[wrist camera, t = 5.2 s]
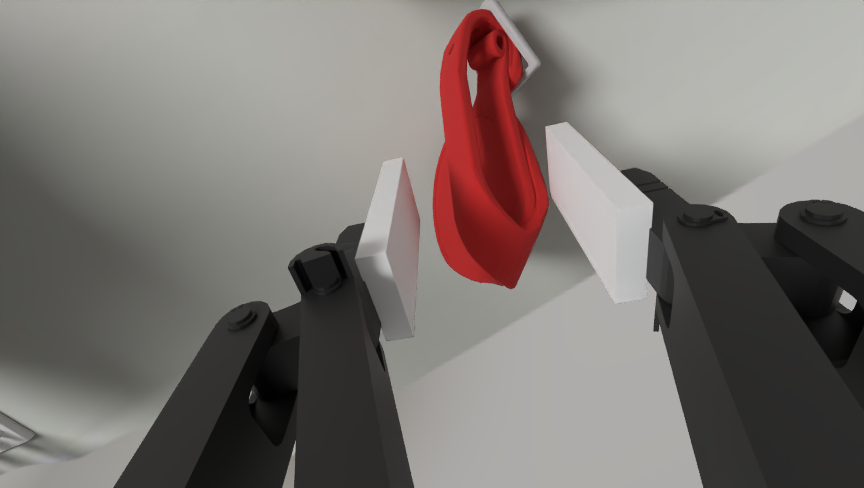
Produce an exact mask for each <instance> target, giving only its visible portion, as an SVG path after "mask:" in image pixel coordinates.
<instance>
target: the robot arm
mask: <svg viewBox="0 0 864 488" xmlns="http://www.w3.org/2000/svg"><path fill="white" fill-rule="evenodd" d="M545 130H546V144H547V157H548V171H549V184H550V195H551V197H552V199H553V200H554V202H555V204H556V205H557V207H558V209H559V210H560V212H561V214H562V215H563V217H564V219H565V221H566V222H567V224H568V226H569V227H570V229H571V231H572V232H573V234H574V236H575V237H576V239H577V241H578V242H579V244H580V246H581V248H582V249H583V251H584V253H585V254H586V256H587V258H588V259H589V261H590V263H591V264H592V266H593V268H594V269H595V271H596V273H597V275H598V276H599V278H600V280H601V281H602V283H603V284H604V286H605V288H606V290H607V291H608V293H609V295H610V296H611V298H612V300H613V302H614V303H615V304H619V303H625V302H632V301H638V300H644V299H646V294H647V282H648V281H649V283H650V284H651V285H652V287H653V288H654V289H655V291H656V292H657V296H656V307H655V319H654V331H657V332H658V331H659V325H660V327H661V331H662V334H663V338H664V342H665V345H666V349H667V353H668V357H669V360H670V364H671V368H672V371H673V376H674V379H675V383H676V387H677V391H678V394H679V398H680V402H681V405H682V409H683V412H684V417H685V420H686V424H687V428H688V432H689V435H690V439H691V443H692V447H693V450H694V454H695V457H696V461H697V465H698V469H699V473H700V476H701V480H702V484H703V488H864V212H863V211H861V210H858V209H856V208H853V207H851V206H848V205H845V204H840V203H835V202H833V201H828V200H822V201H820V200H809V201H797V202H794V203H790V204H787V205H785V206H784V207H783V208H782V209H780V212H779V216H778V219H777V223H737V221H736V220H735V218H734V217H733V216H732V215H731V214H730V213H728V212H727V211H725V210H723V209H720V208H718V207H714V206H708V205H699V204H689V203H687V202H686V201H685V200H684V199H682V198H681V197H680V196H679V195H677V194H676V193H675V192H674V191H673V190H671V189H668V186H666V185H665V184H664V183H663V182H660V180H659V179H658V178H656V177H655V176H654V175H653V174H652V173H649V172H646V171H643V170H640V169H637V168H632V169H627V170H622V171H619V170H618V169H617V168H616V167H614V166H613V165H612V164H611V163H610V162H609V161H608V160H607V159H606V158H605V157H604V156H603V155H602V154H601V153H600V152H598V151H597V150H596V149H595V148H594V147H593V146H592V145H591V144H590V143H589V142H588V141H587V140H586V139H585V138H584V137H582V136H581V135H580V134H579V133H578V132H577V131H576V130H575V129H574V128H573V127H572V126H571V125H570V124H569V123H568V122H564V123H559V124H554V125H550V126H545ZM419 233H420V218H419V214H418V210H417V206H416V203H415V199H414V195H413V192H412V188H411V184H410V180H409V177H408V173H407V169H406V166H405V162H404V158H403V157H401V158H396V159H392V160H387V161H384V162H383V165H382V168H381V172H380V175H379V178H378V182H377V185H376V189H375V192H374V195H373V199H372V202H371V205H370V209H369V212H368V216H367V219H366V222H365V223H361V224H356V225H351V226H348V227H347V228H346V229H345V230H344V231H343V232H342V233H341V234H340V235H339V237H338V240H337V242H336V244H335V243H324V244H320V245H316V246H313V247H311V248H308V249H306V250H304V251H303V252H301V253H299V254H298V255H296V256H295V257H294V258H293V259H292V260H291V261H290V264H289V266H288V269H289V271H290V273H291V275H292V277H293V279H294V281H295V283H296V285H297V287H298V289H299V291H300V293H301V302H299V303H296V304H294V305H292V306H289V307H287V308H284V309H282V310H279V311H277V312H274V313H272V311H271V309H270V308H269V306H268V304H267V303H265V302H262V301H256V302H250V303H246V304H242V305H240V306H237V308H236V307H235V308H234V309H232V310H231V311H230V312H228V313H227V314H226V315H225V316H223V317H222V318H221V319H220V321H219V322H218V323H217V324H216V325H215V327H214V329H213V330H212V332H211V333H210V335H209V336H208V338H207V340H206V341H205V343H204V344H203V346H202V348H201V349H200V351H199V352H198V354H197V356H196V357H195V359H194V360H193V362H192V363H191V365H190V367H189V368H188V370H187V371H186V373H185V375H184V376H183V378H182V379H181V381H180V383H179V384H178V386H177V387H176V389H175V391H174V392H173V394H172V395H171V397H170V398H169V400H168V402H167V403H166V405H165V406H164V408H163V410H162V411H161V413H160V414H159V416H158V418H157V419H156V421H155V422H154V424H153V426H152V427H151V429H150V430H149V432H148V434H147V435H146V437H145V439H144V440H143V441H142V443H141V445H140V446H139V448H138V449H137V451H136V453H135V454H134V456H133V457H132V459H131V461H130V462H129V464H128V465H127V467H126V468H125V470H124V472H123V473H122V475H121V476H120V478H119V480H118V481H117V483H116V484H115V486H114V488H282V486H283V483H284V479H285V475H286V472H287V469H288V465H289V461H290V458H291V455H292V451H293V447H294V444H295V440H296V452H295V480H294V488H414V485H413V481H412V476H411V472H410V467H409V463H408V458H407V454H406V449H405V445H404V441H403V436H402V431H401V427H400V422H399V418H398V413H397V409H396V405H395V400H394V395H393V391H392V386H391V382H390V377H389V373H388V369H387V364H386V360H385V355H384V351H383V349H382V346H381V344H380V341H379V336H380V330H381V328H382V331H383V333H384V336H385V339H386V341H391V340H397V339H403V338H409V337H414V324H415V306H416V287H417V269H418V251H419ZM843 290H845V291H846V292H848V293H849V294H850V295H852V296H853V297H854V298H855V299H856V300H857V303H856V305H855V307H854V309H853V310H852V311H851V310H849V309H847V308H846V307H844V306H843V305H842V304H840V303H839V300H840V297H841V295H842V292H843ZM251 391H252V394H251V397H250V399H249V396H250V392H251Z"/></svg>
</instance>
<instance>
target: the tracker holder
mask: <svg viewBox="0 0 864 488" xmlns="http://www.w3.org/2000/svg"><path fill="white" fill-rule="evenodd" d="M521 54H522V56H523V57H524V58H525V60H526V61H527V63H528V67H527V68H526V70H525V71H524V72H523V66H522V59H521ZM467 59H468V63H469V66H470V67H471V68H472V69H473V70H476V72H477V74H478V79H477V96H476V100H475V102H474V105H473V107H472V103H471V97H470V91H469V86H468V80H467ZM540 66H541V61H540V60H539V58H538V57H537V56H536V54H535V53H534V51H533V50H532V49H531V47H530V46H529V44H528V43H527V42H526V40H525V39H524V37H523V36H522V34H521V33H520V32H519V30H518V29H517V27H516V26H515V25H514V23H513V22H512V20H511V19H510V18H509V16H508V15H507V13H506V12H505V10H504V9H503V8H502V6H501V5H500V3H499V2H498V1H497V0H484V2H483V3H482V5H481V7H480V8H479V10H475V11H472V12H470V13H469V14H467V15H466V17H465V18H464V19H463V21H462V22H461V24H460V25H459V27H458V28H457V30H456V31H455V33H454V35H453V36H452V38H451V40H450V41H449V43H448V45H447V47H446V49H445V51H444V55H443V61H442V67H441V73H440V97H441V107H442V116H443V124H444V133H445V143H444V145H443V148H442V151H441V154H440V157H439V161H438V165H437V168H436V174H435V180H434V190H433V218H434V227H435V232H436V237H437V241H438V244H439V247H440V250H441V253H442V255H443V257H444V259H445V261H446V262H447V264H448V265H449V266H450V267H451V268H452V269H453V270H454V271H456V272H457V273H459V274H460V275H462V276H464V277H466V278H468V279H470V280H473V281H476V282H480V283H492V284H497V285H500V286H506V287H507V288H509V289H513V288H515V287H516V285H517V282H518V280H519V278H520V275H521V273H522V271H523V269H524V266H525V264H526V262H527V259H528V257H529V255H530V253H531V251H532V249H533V247H534V244H535V241H536V239H537V237H538V234H539V232H540V230H541V227H542V225H543V222H544V219H545V216H546V214H547V210H548V206H549V198H548V194H547V189H546V185H545V182H544V179H543V176H542V173H541V170H540V167H539V164H538V161H537V159H536V156H535V153H534V151H533V148H532V146H531V143H530V141H529V139H528V136H527V134H526V132H525V130H524V128H523V126H522V125H521V123H520V121H519V120H518V118H517V117H516V114H515V110H514V106H513V102H512V98H511V97H512V96H513V95H514V94H515V93H516V92H517V91H518V90H519V88H520V87H521V86H522V85H523V84H524V83H525V82H526V81H527V80H528V79H529V78H530V77H531V76H532V75H533V73H534V72H535V71H536V70H537V69H538V68H539V67H540ZM522 72H523V73H522Z"/></svg>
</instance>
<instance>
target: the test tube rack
mask: <svg viewBox="0 0 864 488" xmlns="http://www.w3.org/2000/svg"><path fill="white" fill-rule="evenodd" d="M34 435H35V433H33V432H32V431H30V430H28V429H27V428H25V427H23V426H22V425H20V424H18V423H16V422H15V421H13V420H11V419H10V418H8V417H6V416H5V415H3V414H1V413H0V452H3V451H5V450H8V449H10V448H12V447H15V446H17V445H20V444H22V443H25V442H27V441H29V440H30V439H31V438H32V437H33V436H34Z"/></svg>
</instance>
